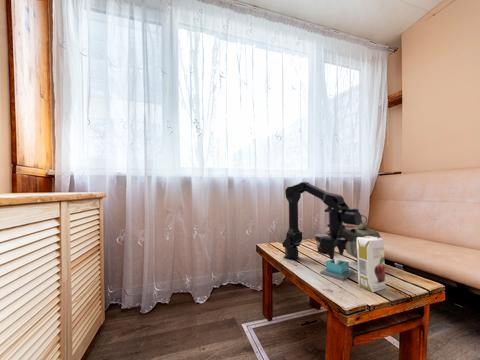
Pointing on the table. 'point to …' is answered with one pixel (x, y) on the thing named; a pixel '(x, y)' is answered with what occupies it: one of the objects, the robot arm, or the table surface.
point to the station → (340, 277)
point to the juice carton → (371, 263)
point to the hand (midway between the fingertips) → (336, 256)
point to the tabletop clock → (362, 232)
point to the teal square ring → (337, 267)
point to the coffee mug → (320, 244)
